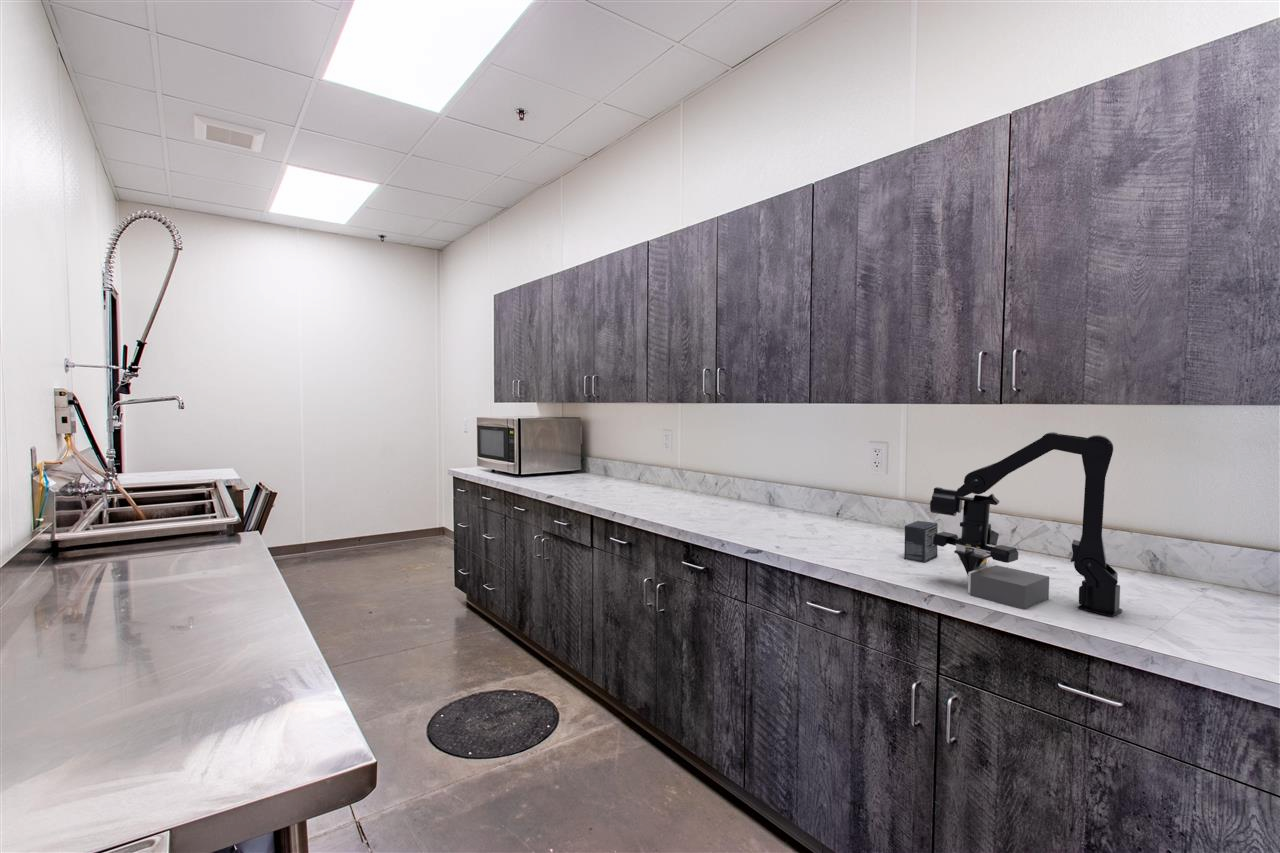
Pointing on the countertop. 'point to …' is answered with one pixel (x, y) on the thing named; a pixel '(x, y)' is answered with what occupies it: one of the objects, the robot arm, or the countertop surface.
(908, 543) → the small box
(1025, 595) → the block
